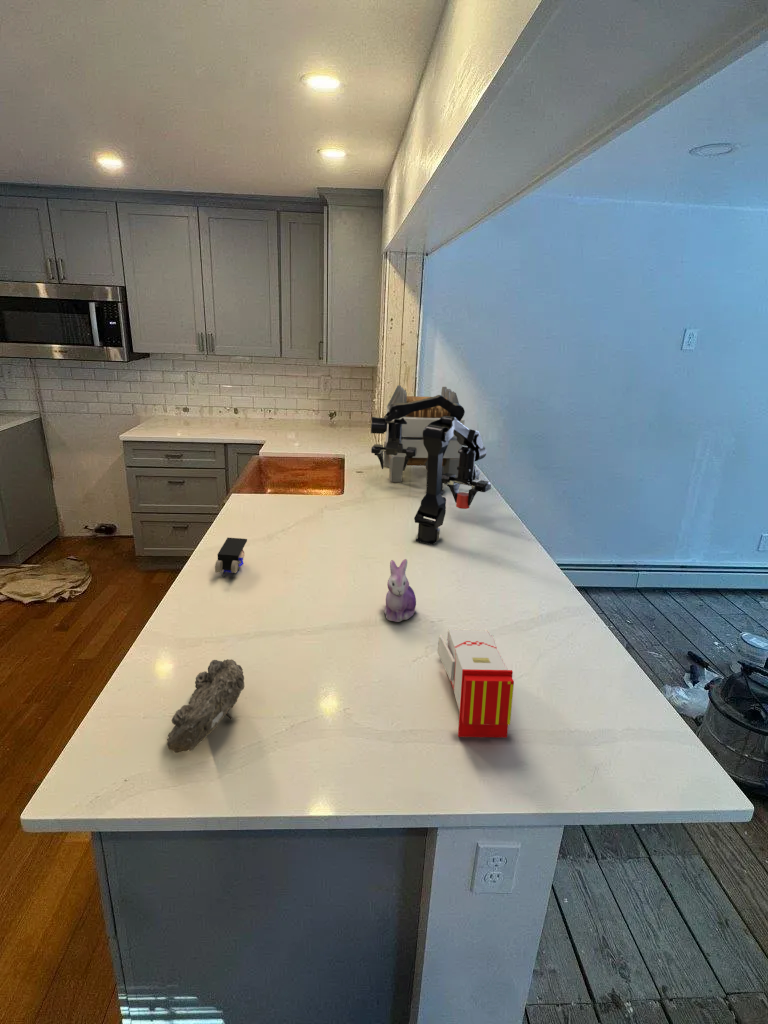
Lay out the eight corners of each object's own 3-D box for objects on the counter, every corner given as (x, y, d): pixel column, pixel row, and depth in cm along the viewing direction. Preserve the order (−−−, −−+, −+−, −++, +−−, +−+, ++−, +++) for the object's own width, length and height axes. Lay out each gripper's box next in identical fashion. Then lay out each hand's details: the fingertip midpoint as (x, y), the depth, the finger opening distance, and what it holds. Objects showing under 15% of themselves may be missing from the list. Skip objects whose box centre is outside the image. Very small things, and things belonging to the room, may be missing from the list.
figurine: (392, 627, 141) (395, 572, 136) (374, 608, 149) (376, 556, 144) (425, 619, 145) (429, 566, 140) (405, 601, 154) (408, 550, 149)
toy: (488, 613, 130) (523, 677, 101) (484, 667, 133) (517, 744, 104) (435, 612, 130) (455, 676, 101) (432, 666, 133) (451, 743, 103)
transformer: (382, 463, 289) (386, 382, 275) (445, 464, 293) (451, 384, 279) (390, 482, 257) (394, 392, 243) (460, 483, 261) (468, 394, 247)
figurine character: (238, 584, 162) (249, 557, 175) (236, 562, 158) (247, 536, 172) (215, 584, 161) (227, 556, 175) (212, 561, 158) (225, 535, 171)
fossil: (192, 660, 117) (244, 628, 112) (224, 691, 120) (276, 661, 115) (142, 746, 98) (202, 712, 93) (182, 779, 101) (242, 748, 96)
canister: (464, 509, 210) (465, 497, 208) (453, 506, 213) (454, 493, 211) (471, 506, 213) (473, 494, 212) (460, 503, 216) (462, 491, 215)
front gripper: (499, 464, 209) (494, 504, 214) (454, 455, 219) (450, 494, 224) (486, 470, 200) (482, 511, 206) (440, 461, 210) (437, 500, 215)
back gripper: (369, 436, 232) (368, 472, 237) (414, 439, 229) (412, 476, 234) (374, 430, 242) (373, 466, 247) (417, 434, 239) (415, 469, 244)
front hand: (462, 504), depth 213 cm, fingers closed on canister, 5 cm apart
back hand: (393, 469), depth 243 cm, fingers open, 9 cm apart
